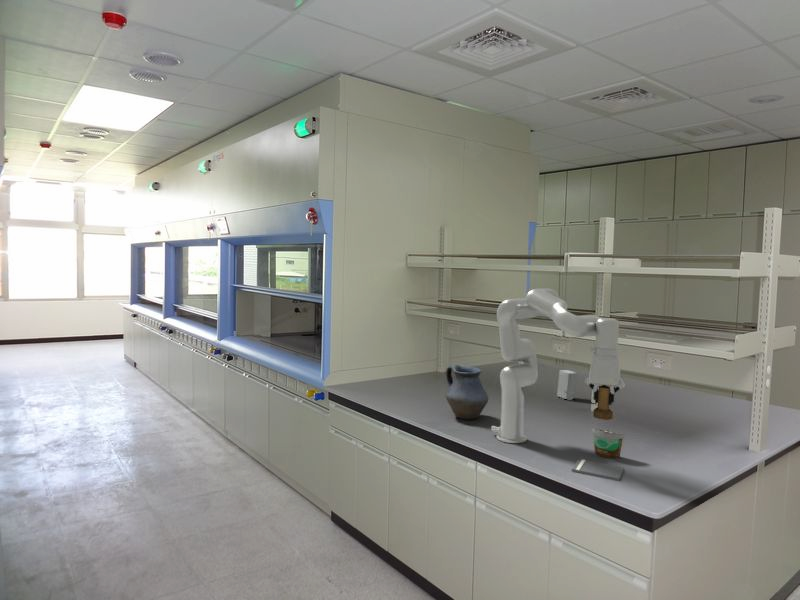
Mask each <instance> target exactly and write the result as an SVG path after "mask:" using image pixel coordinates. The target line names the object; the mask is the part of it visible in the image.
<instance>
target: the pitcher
mask: <svg viewBox="0 0 800 600" xmlns="http://www.w3.org/2000/svg"><path fill="white" fill-rule="evenodd" d="M452 371H453V373H454V378H453V376H452ZM481 372H482V370H481V369H479V368H478V367H473V366H461V365H459V364H456V363H453V364H450V365H447V368H446V369H445V377H446V381H447V384H448V390H447V392H446V394H445V399H446V401H447V403H448V404H449V406H450V408H451V410H452V413H453V414H454V416H455V417H456V418H458V419H461V420H465V421H466V420H467V421H468V420H469V421H472V420H475V419H477V418H478V417H479V416H480V415H481V414H482V413H483V410H484V409H485V408H486V406H487V405H488V402H489V395H488V394H487V392H486V390H485V389H484V387H483V385H482V382H481V379H480V375H481Z"/></svg>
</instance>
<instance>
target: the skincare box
mask: <svg viewBox="0 0 800 600" xmlns="http://www.w3.org/2000/svg"><path fill="white" fill-rule="evenodd" d="M558 373H559V374H558V382H557V383H558V384H557V389H556V390H557V393H556V397H557V396H559V397H562V398H565V399H572V398H575V399H576V390H577V382H578V381H577V380H578V372H576V371H572V370H569V369H567V370H566V369H564V370H563V369H560V370H559V372H558Z"/></svg>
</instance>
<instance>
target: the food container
mask: <svg viewBox="0 0 800 600" xmlns="http://www.w3.org/2000/svg"><path fill="white" fill-rule="evenodd" d="M591 434H593V443H594V445H593V446H594V447H593V448H594V453H595V454H594V455H596V454H597V455H596V456H598V455H599V456H598V457H601V458H606V459H617V458H620V457H621V451H622V445H623V439H624V438H626V436H625V432H624V431H622V432H620V433H618V432H614V431H611V430H606V429H603V430H602V429H595V427H593V428H592V430H591Z"/></svg>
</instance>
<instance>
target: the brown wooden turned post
mask: <svg viewBox="0 0 800 600" xmlns="http://www.w3.org/2000/svg"><path fill="white" fill-rule="evenodd" d="M610 392H611V390H610V386H607V385H599V386H598V403H597V407H595V408H594V409H593V417H594V418H596V419H599V420H605V421H607V420H612V419H613V416H614V414H613V411H612V409H610V405H609V394H610Z"/></svg>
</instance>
